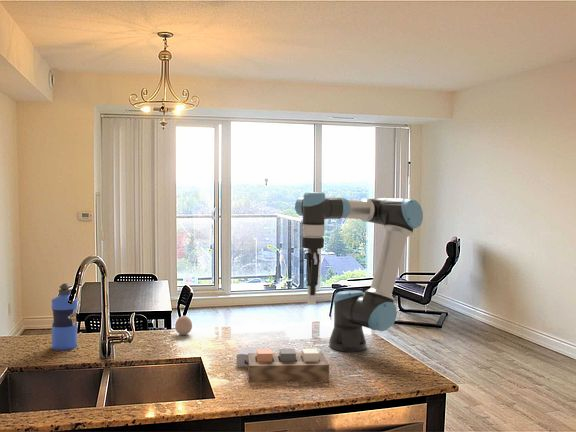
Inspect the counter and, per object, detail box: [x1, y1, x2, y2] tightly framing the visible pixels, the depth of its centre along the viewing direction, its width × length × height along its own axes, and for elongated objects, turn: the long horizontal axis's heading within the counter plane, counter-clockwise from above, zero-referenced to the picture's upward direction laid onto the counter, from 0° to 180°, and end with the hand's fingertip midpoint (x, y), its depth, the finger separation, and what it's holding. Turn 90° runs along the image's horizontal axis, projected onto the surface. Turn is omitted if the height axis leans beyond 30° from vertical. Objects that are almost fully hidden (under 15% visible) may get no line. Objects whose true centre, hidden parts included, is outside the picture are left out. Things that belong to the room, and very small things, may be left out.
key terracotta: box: [256, 348, 274, 362], centre depth 179 cm, size 5×5×6 cm
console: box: [247, 352, 330, 383], centre depth 180 cm, size 27×13×6 cm, turn 96°
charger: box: [236, 346, 265, 368], centre depth 193 cm, size 5×9×15 cm
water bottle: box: [51, 283, 79, 352], centre depth 202 cm, size 9×9×25 cm
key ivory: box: [301, 348, 320, 362], centre depth 180 cm, size 5×5×6 cm
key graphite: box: [278, 348, 297, 362], centre depth 180 cm, size 5×5×6 cm
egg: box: [174, 315, 193, 336], centre depth 224 cm, size 7×7×8 cm
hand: (311, 303), depth 181 cm, fingers closed
